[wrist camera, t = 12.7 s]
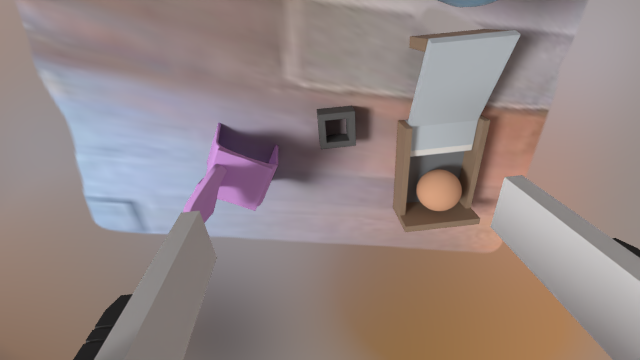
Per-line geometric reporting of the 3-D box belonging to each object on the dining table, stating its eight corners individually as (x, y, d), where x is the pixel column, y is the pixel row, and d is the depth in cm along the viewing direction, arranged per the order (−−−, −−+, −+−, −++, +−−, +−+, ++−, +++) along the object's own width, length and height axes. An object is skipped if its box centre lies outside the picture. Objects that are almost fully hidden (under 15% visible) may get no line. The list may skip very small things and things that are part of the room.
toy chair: (264, 187, 42) (250, 263, 29) (205, 168, 40) (161, 240, 27) (284, 140, 39) (278, 202, 26) (220, 115, 37) (178, 169, 24)
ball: (407, 185, 45) (418, 220, 41) (416, 163, 40) (430, 200, 36) (445, 181, 45) (459, 215, 42) (458, 158, 40) (476, 195, 36)
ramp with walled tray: (402, 36, 33) (423, 40, 28) (492, 27, 34) (530, 29, 28) (393, 207, 46) (405, 233, 40) (458, 200, 46) (480, 225, 41)
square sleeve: (316, 109, 37) (318, 115, 35) (351, 105, 37) (355, 111, 35) (319, 141, 39) (321, 149, 37) (352, 138, 39) (355, 145, 37)
